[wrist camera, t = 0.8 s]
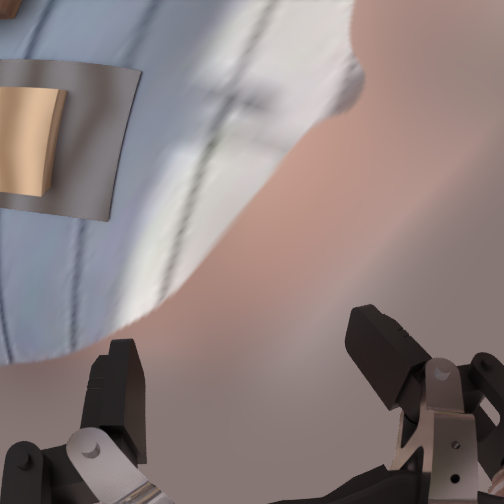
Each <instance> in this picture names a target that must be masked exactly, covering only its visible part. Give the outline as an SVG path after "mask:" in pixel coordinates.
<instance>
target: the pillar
mask: <svg viewBox="0 0 504 504" xmlns="http://www.w3.org/2000/svg"><path fill="white" fill-rule="evenodd" d="M21 2H22V0H0V20H2V19H14V18H15V16H16V14H17V11H18V9H19V7H20V4H21Z"/></svg>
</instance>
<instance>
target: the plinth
mask: <svg viewBox="0 0 504 504" xmlns="http://www.w3.org/2000/svg"><path fill="white" fill-rule="evenodd" d="M141 72H142V71H139V70H134V69H128V68H121V67H115V66H108V65H100V64H91V63H82V62H70V61H56V60H27V59H15V60H0V208H7V209H15V210H23V211H30V212H38V213H45V214H53V215H60V216H68V217H75V218H83V219H90V220H97V221H105V222H108V219H109V212H110V205H111V199H112V192H113V186H114V181H115V175H116V170H117V165H118V160H119V155H120V150H121V146H122V141H123V137H124V133H125V128H126V124H127V120H128V116H129V113H130V109H131V105H132V102H133V98H134V95H135V91H136V88H137V84H138V81H139V78H140V75H141Z"/></svg>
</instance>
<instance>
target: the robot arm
mask: <svg viewBox="0 0 504 504" xmlns="http://www.w3.org/2000/svg"><path fill="white" fill-rule="evenodd" d="M345 347H346V350H347V352H348V354H349V355H350V356H351V358H352V360H353V361H354V362H355V364H356V365H357V366H358V368H359V369H360V371H361V372H362V373H363V375H364V376H365V378H366V379H367V380H368V382H369V383H370V385H371V386H372V387H373V389H374V390H375V391H376V393H377V394H378V396H379V397H380V398H381V400H382V401H383V403H384V404H385V406H386V407H387V409H388V410H389V411H390V410H393V409H395V408H397V407H401V408H402V412H401V414H400V420H399V429H398V438H397V445H396V452H395V456H394V459H393V461H392V463H391V465H390V468H389V471H388V470H387V469H386V467H385V466H384V464H383V465H381V466H379V467H377V468H374V469H372V470H370V471H368V472H365V473H363V474H360V475H358V476H355V477H353V478H352V479H351V480H349V481H348V482H346V483H345V484H343V485H342V486H340V487H339V488H337V489H336V490H334V491H333V492H331V493H329V494H328V495H326V496H324V497H321V498H311V499H298V500H282V501H278V502H273V503H269V504H504V365H502V363H501V362H500V361H499V360H498V359H497V358H495V357H494V356H493V355H491V354H489V353H484V352H481V353H477V354H476V355H475V356H474V358H473V359H472V361H471V363H470V364H468V365H462V366H456V365H455V364H454V363H453V362H451V361H450V360H448V359H445V358H432V357H431V356H430V355H429V354H428V353H427V352H426V351H425V350H424V349H423V348H422V347H421V346H420V345H419V344H418V343H417V342H416V341H415V340H414V339H413V338H412V337H411V336H409V334H408V333H407V332H406V331H405V330H403V327H401V326H400V324H399V323H398V322H396V320H394V319H392V318H390V317H389V316H387V315H385V314H382V313H381V312H380V311H379V310H378V309H377V308H376V307H375V306H374V305H371V304H369V305H364V306H360V307H355V308H353V309H352V311H351V314H350V319H349V323H348V328H347V332H346V337H345ZM87 389H88V390H87V392H86V396H85V403H84V408H83V414H82V420H81V426H80V429H79V430H78V431H76V432H75V433H73V434H72V435H71V437H70V438H69V440H68V442H67V444H65V445H62V446H58V447H53V448H49V449H44V450H40V449H39V448H38V447H37V446H36V445H35V444H33V443H31V442H28V441H21V442H18V443H15V444H14V445H12V446H11V447H10V448H9V450H8V452H7V454H6V458H5V464H4V470H3V478H2V487H1V497H0V504H94V503H98V502H101V503H102V504H175V503H174V502H173V501H172V500H171V499H170V498H169V497H167V496H166V495H165V494H164V493H163V492H162V491H161V490H160V489H159V488H157V487H156V486H155V485H153V484H152V483H151V482H150V481H149V480H148V479H147V478H146V477H144V475H143V474H142V473H141V472H140V471H139V470H138V467H137V464H146V463H147V457H146V426H145V377H144V372H143V368H142V365H141V362H140V359H139V355H138V352H137V349H136V346H135V343H134V340H133V339H117V340H112V341H111V344H110V349H109V354H108V355H99V357H98V358H97V359H96V361H95V362H94V363H93V365H92V366H91V372H90V376H89V381H88V386H87ZM485 397H486V398H487V399H488V400H489V401H490V402H491V404H492V405H493V406H494V407H495V409H496V410H497V411H498V412H499V414H500V422H499V424H498V426H495V424H494V423H493V422H492V421H491V419H490V418H489V417H488V415H487V414H486V413H485V412H484V410H483V409H482V408H481V407H480V403H481V402H482V400H483V399H484V398H485ZM478 461H479V463H480V464H481V466H482V467H483V469H484V471H485V472H486V473H487V475H488V477H489V478H490V480H491V481H492V486H490V487H489V489H488V493H484V492H480V491H477V489H478Z"/></svg>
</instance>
